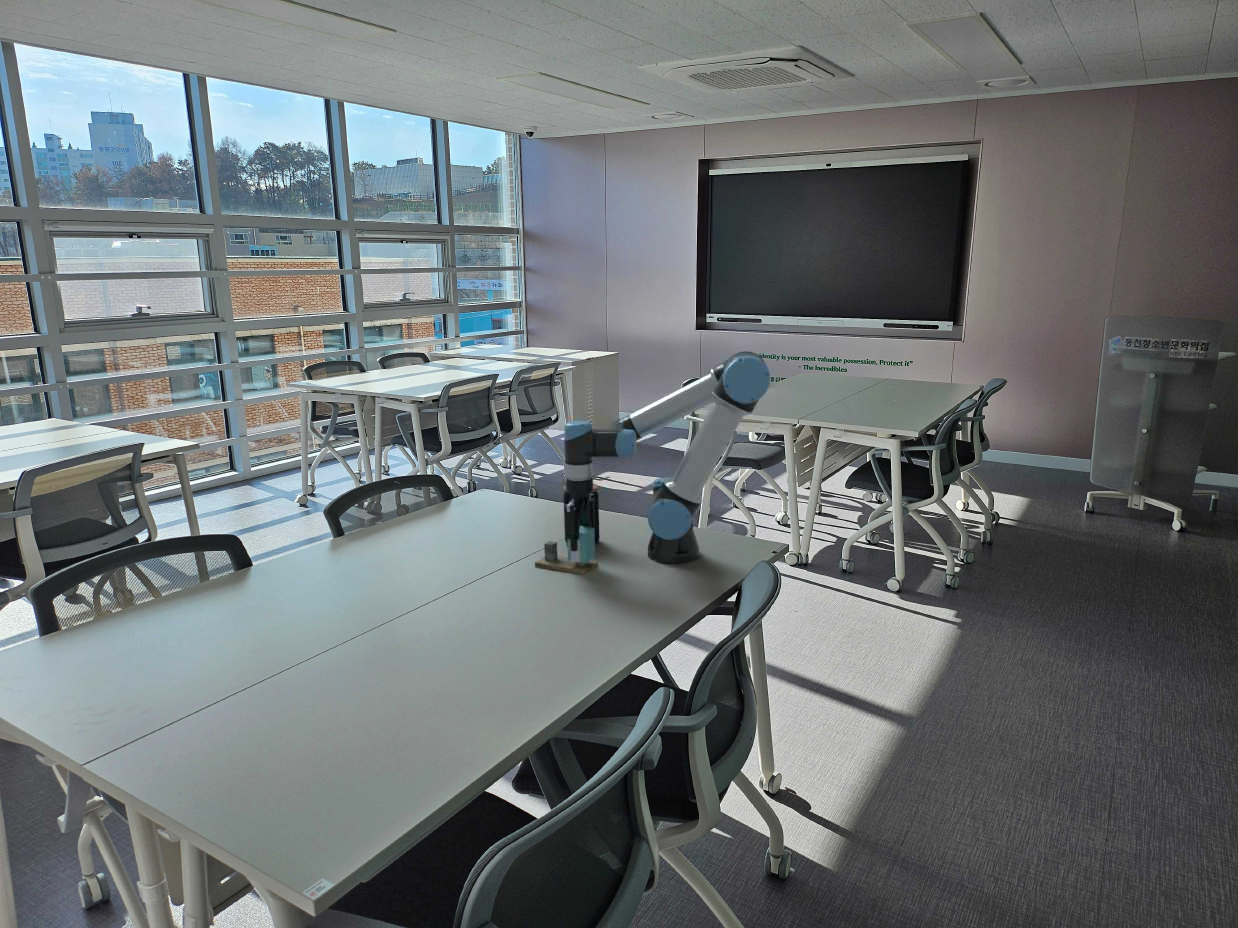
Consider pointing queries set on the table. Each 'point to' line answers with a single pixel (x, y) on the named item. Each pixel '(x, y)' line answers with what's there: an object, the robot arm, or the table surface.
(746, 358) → the robot arm
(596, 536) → the coffee jar
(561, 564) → the stand
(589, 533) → the teal rectangular block
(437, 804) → the table surface
